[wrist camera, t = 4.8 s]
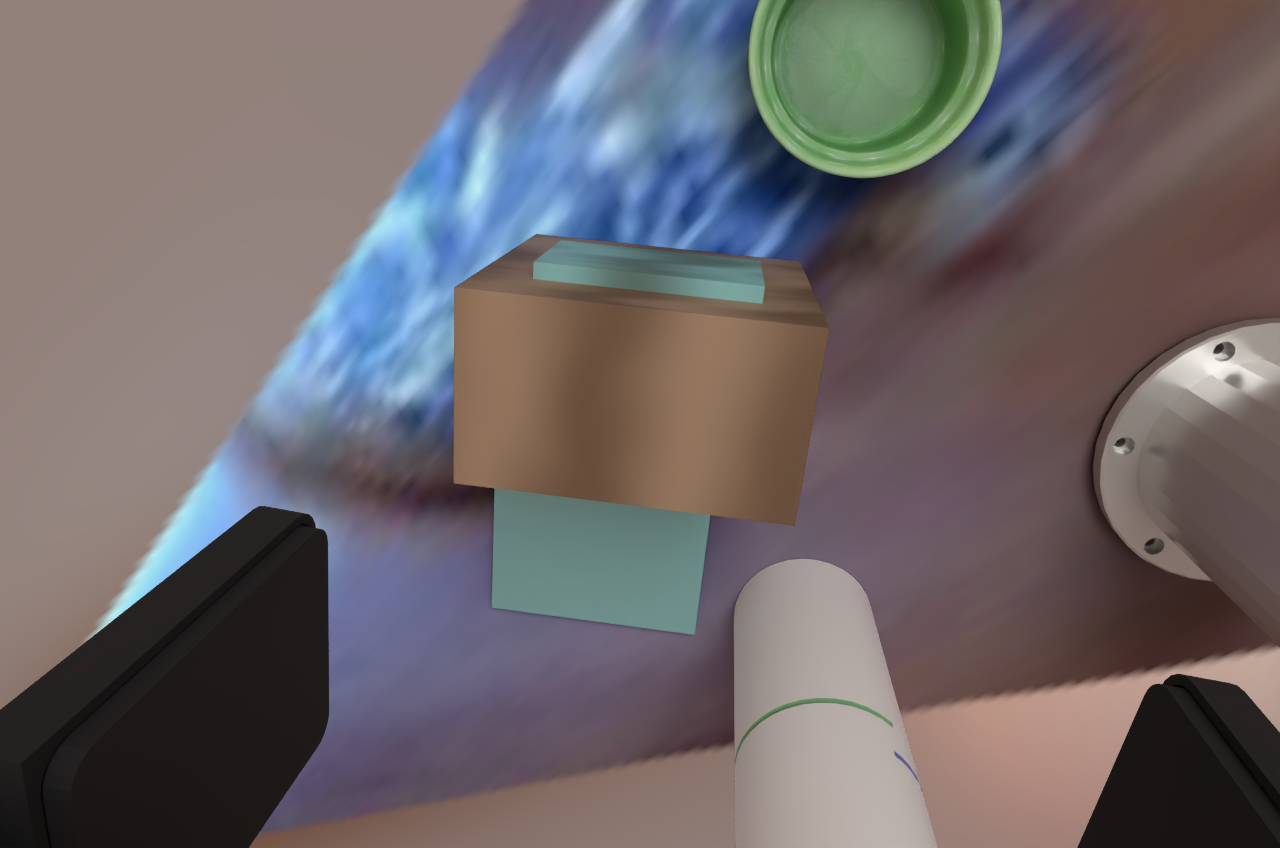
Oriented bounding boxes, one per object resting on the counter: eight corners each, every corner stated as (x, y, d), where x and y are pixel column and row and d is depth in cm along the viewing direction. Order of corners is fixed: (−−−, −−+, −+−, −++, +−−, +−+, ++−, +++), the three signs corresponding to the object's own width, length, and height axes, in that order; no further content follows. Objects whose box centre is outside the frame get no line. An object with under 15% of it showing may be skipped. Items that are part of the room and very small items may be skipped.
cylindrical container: (783, 694, 45) (839, 1310, 22) (707, 602, 44) (679, 1161, 21) (898, 633, 43) (1091, 1244, 20) (821, 534, 42) (935, 1071, 18)
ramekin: (1012, 78, 34) (1050, 75, 30) (822, 213, 36) (834, 227, 32) (895, -124, 32) (919, -158, 27) (703, 35, 34) (699, 25, 30)
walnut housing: (802, 248, 37) (832, 309, 26) (775, 415, 40) (792, 535, 28) (537, 220, 38) (454, 268, 26) (530, 386, 40) (453, 493, 29)
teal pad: (719, 439, 40) (719, 444, 40) (695, 628, 44) (694, 634, 44) (499, 413, 41) (496, 418, 41) (494, 601, 45) (491, 607, 45)
